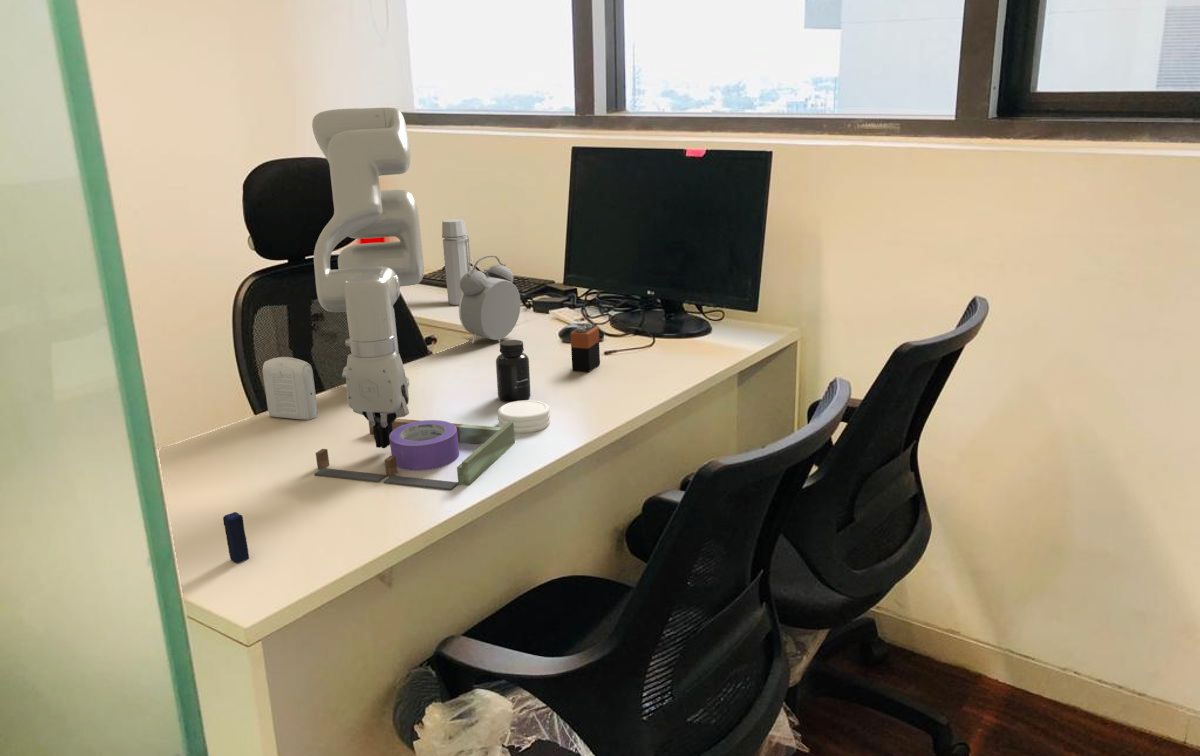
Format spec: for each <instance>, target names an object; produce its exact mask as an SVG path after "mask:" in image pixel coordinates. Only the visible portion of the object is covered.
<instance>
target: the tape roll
mask: <svg viewBox="0 0 1200 756" xmlns="http://www.w3.org/2000/svg"><path fill="white" fill-rule="evenodd" d="M389 439H390V445H389V446H390V453H391V456H396V463H397V469H398V468H399V469H401V470H405V471H416V470H417V471H429V470H433V469H434V470H435V469H438V468H439V467H440V468H442V467H445V466H448V465H451V464H452V463H453V462H455V461H456V460H457V459H458V458H459V456H460V449H459V442H458V437H457V428H456V426H455V425H453V424H452V422H450V421H449V422H448V421H446V420H436V419H427V420H419V421H417V422H412V423H408V424H405V425H402V426H400V427H398V428H396V429H394V430H393V431H392V432H391V433H390V435H389ZM440 468H439V469H440Z"/></svg>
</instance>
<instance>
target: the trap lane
mask: <svg viewBox="0 0 1200 756" xmlns="http://www.w3.org/2000/svg"><path fill="white" fill-rule="evenodd" d="M417 421H420V420H418V419H417V420H416V419H407V418H396V419H395V421H394V422H393V423H392V428H393V430H394V429H396V428H398V427H400V426H402V425H405V424H408V423H412V422H417ZM451 423H452V422H451ZM452 424H453V425H455V426H456V428H457V437H458V443H465V444H477V445H480V446H479V447H478V448H476V449H475V450H474V451H472V453H471V454H469V456H468V455H467V457H466V458H465V459H464V460H463V461H462V462H461V463H460V464H459V465H458V466H456V471H457V482H458V485H464V486H470V485H472V484H473V482H474V481H476V480H477V479H478V478H479V477H480V476H481V475H482V474H483V473H484V472H485V471H486V470H487V469H488V468H490V467H491V466H492V465H493V464H494V463H495V462H496V461H497V460H498V459H499V458H500V457H501V456H503V455H504V454H505V453H506V452H507V451H508V450H509V449H510V448H511V447H512V446H513V445H515V443H516V442H515V441H516V440H515V433H514V424H513V422H508V423H506V424H505V425H504V426H503V427H499V426H488V425H487V426H486V425H478V424H468V423H467V424H466V423H452ZM368 428H369V434H370V435H374V432H373V426H371V425H370V424H369V423H368ZM315 458H316V465H317V470H320V469H322V468H328V467H329V466H330V459H329V452H328V448H321V449H320V450H318V451H317V452H315ZM384 468H385V475H386V477H387V478H388V477H390V476H391V475H394V476H396V474H397V473H398V467H397V463H396V456H392V455H389V456H388V457H386V458H384Z"/></svg>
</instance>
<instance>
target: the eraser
mask: <svg viewBox="0 0 1200 756" xmlns="http://www.w3.org/2000/svg"><path fill="white" fill-rule="evenodd" d="M222 519H223V520H222V521H223V526H224V530H225V536H226V541H227V548H228V555H229V557H230V561H231V562H234V563H235V564H240V563H242V562H245V561H247V560H248V559H249V558H250V555H249V547H248V541H247V536H246V532H245V525H244V517H243V515H242V514H240V513H238V512H236V511H234V512H231V513H229V514H225V515H224V516H223V518H222Z"/></svg>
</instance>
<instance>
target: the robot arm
mask: <svg viewBox="0 0 1200 756" xmlns="http://www.w3.org/2000/svg"><path fill="white" fill-rule="evenodd" d="M311 127H312V132H313V135H314V138H315V141H316V143H317V145H318V147H319V149H320V150H321V152H322V153H323V155H324V157H325V158H326V161H327V162H328V164H329V172H330V173H329V174H330V182H331V191H332V202H333V209H334V210H333V216H332V217H331V219H330V220H329V221H328V223H326V225H325V226H324V228H323V229H322V231H321V233H319V236H318V239H317V241H316V242H315V247H314V251H313V265H314V278H315V279H314V280H315V288H316V294H317V295H316V296H317V301H318V303H319V305H320V306H321V308H322V309H323V310H325V311H327V312H329V313H341V312H342V313H344V312H345V313H346V319H347V325H348V326H347V327H348V333H349V334H348V335H349V336H348V337H349V338H346V339H345V341H344V342H345V343H344V344H345V346H346V347H349V348H350V352H351V353H350V354H348V355H347V357H346V358H347V360H346V366H344V368H343V370H342V373H341V377H342V378H343V379H344V378H345V379H346V380H345V382H346V397H347V398H346V399H347V403H348V408H350V409H351V410H352V411H353V413H355V414H358V415H361V416H363V417H364V418H365V419H366V420H367V421H368V425H369V424H370V425H371V426H373V432H374V434H373V439H374V441H375V448H379V449H380V448H381V449H385V448H387V447H389V446H390V439H389V435H390V433H391V432H392V431H393V428H392V423H393V422H394V421H395V419H401V418H404V417H406V416H407V415H409V414H410V411H409V407H408V405H409V401H410V399H409V389H408V387H409V385H410V380H409V378H408V377H407V375H406V372H405V368H404V364H403V361H402V360H403V359H402V358H401V354H400V353H399V352H400V351H399V343H398V336H397V333H398V332H397V326H396V317H395V316H396V314H395V308H394V305H395V303H396V302H397V300H398V299H399V297H400V295H401V294H400V293H401V287H411V286H415V285H418V284H420V283H421V281H423V278H424V275H425V274H424V273H425V272H424V271H425V270H424V269H425V266H424V255H423V245H422V243H423V242H422V235H421V226H420V223H421V222H420V217H419V211H418V209H419V208H418V204H417V202H416V201H417V200H415V196H414V195H413V194H412V193H411V192H409V191H408V190H404V189H390V190H388V189H386V190H385V189H384V190H381V187H380V178H379V176H393V175H403V174H406V173H407V172H408V171H409V168H410V164H411V149H410V147H411V146H410V140H409V139H410V138H409V135H408V130H407V129H408V128H407V125H406V121H405V117H404V115H403V113H402V112H401V111H400V110H399V109H398V108H394V107H369V108H367V107H364V108H363V107H361V108H358V107H357V108H339V109H329V110H324V111H320V112H318V113H316V114H315V115H314V117H313V118H312V123H311ZM389 237H390V238H391V237H392V238H393V237H394V238H397V239H398V240H399V241H387V242H368V243H358V244H353V245H350V246H347V247H345V248H344V249H342V250H341V251H340V252H339V255H338V257H337V267H338V269H331V257H332V253H333V251H334V250H335V248H336V247H337V245H338V244H340V243H341V242H342V241H343V240H345V239H346V238H351V239H355V240H356V239H357V240H358V239H361V240H362V239H364V240H365V239H377V238H379V239H380V238H389Z"/></svg>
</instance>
